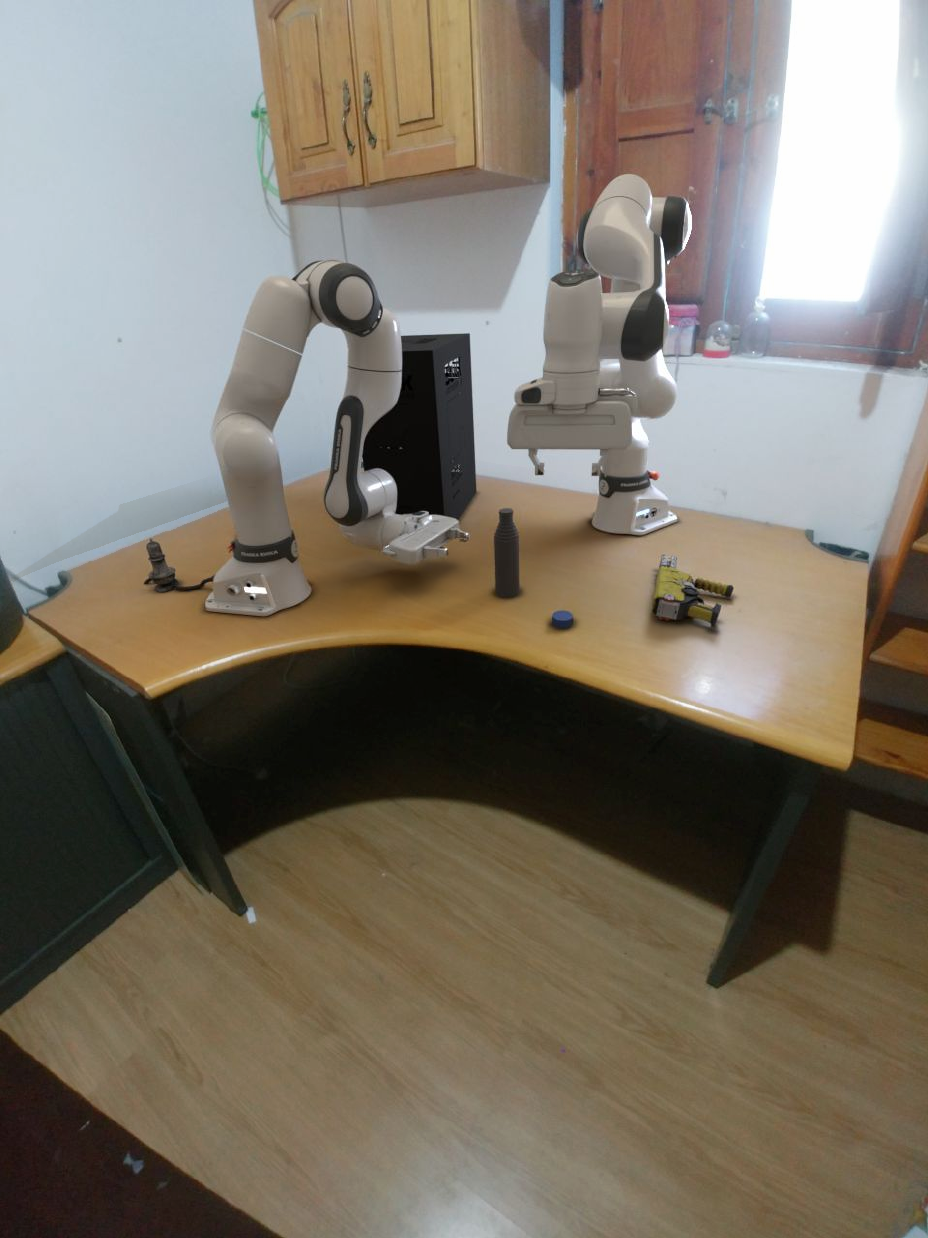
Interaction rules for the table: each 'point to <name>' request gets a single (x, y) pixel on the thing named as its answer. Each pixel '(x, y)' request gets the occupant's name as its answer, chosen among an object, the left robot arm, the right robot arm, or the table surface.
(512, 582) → the bottle
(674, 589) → the toy gun
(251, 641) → the table surface
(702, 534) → the table surface
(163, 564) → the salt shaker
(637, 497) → the right robot arm
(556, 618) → the cap
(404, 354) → the black boxy piece
